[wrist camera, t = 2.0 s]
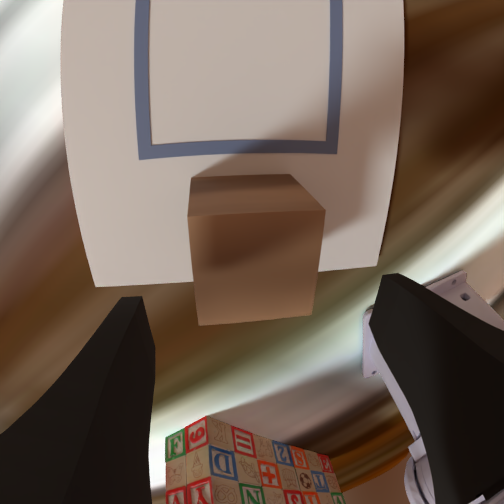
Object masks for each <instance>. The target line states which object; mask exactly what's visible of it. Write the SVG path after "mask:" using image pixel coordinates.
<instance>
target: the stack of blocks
mask: <svg viewBox="0 0 504 504" xmlns="http://www.w3.org/2000/svg"><path fill="white" fill-rule="evenodd" d="M165 462H166V504H346V503H345V500H344V497H343V495H342V493H341V491H340V488H339V485H338V482H337V479H336V476H335V474H334V472H333V469H332V465H331V462H330V460H329V457H328V456H327V455H323V454H318V453H316V452H313V451H309V450H305V449H304V450H303V449H301V448H298V447H295V446H291V445H287V444H283V443H280V442H277V441H273V440H270V439H267V438H264V437H260V436H258V435H255V434H252V433H250V432H247V431H244V430H242V429H239V428H236V427H234V426H231V425H229V424H226V423H224V422H221V421H219V420H216V419H214V418H211V417H209V416H205V417H203V418H201V419H199V420H198V421H196V422H194V423H192V424H190V425H188V426H186V427H185V428H183V429H181V430H180V431H178V432H176V433H174V434H172V435H170V436H168V437H166V439H165Z"/></svg>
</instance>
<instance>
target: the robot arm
mask: <svg viewBox="0 0 504 504" xmlns="http://www.w3.org/2000/svg"><path fill="white" fill-rule="evenodd" d="M466 277H467V273H466V272H465V271H463V270H462V271H459V272H457V273H455V274H453V275H451V276H449V277H446V278H444V279H442V280H440V281H438V282H435V283H433V284H431V285H429V286H426V287H424V286H422V285H420V284H419V283H417V282H415V281H413V280H411V279H409V278H407V277H405V276H403V275H401V274H399V273H395V274H387V275H382V279H381V283H380V286H379V290H378V294H377V297H376V300H375V304H374V307H373V309H370V310H368V311H366V312H365V313H364V315H363V363H362V375H363V377H364V378H369V377H371V376H374V375H376V374H379V373H380V375H381V377H382V379H383V381H384V382H385V384H386V386H387V388H388V390H389V392H390V394H391V395H392V397H393V399H394V401H395V403H396V405H397V407H398V409H399V410H400V412H401V414H402V416H403V418H404V420H405V422H406V424H407V426H408V428H409V430H410V432H411V434H412V436H413V438H414V440H415V442H414V443H413V444H411V445H410V446H409V447H408V448H409V450H410V452H411V454H412V457H411V458H410V459H409V460H408V462H407V465H406V471H405V476H404V482H405V489H406V492H407V496H408V498H409V501H410V503H411V504H504V320H503V319H502V318H501V317H500V316H499V315H498V314H497V313H496V312H495V311H494V310H493V309H492V308H491V307H490V306H489V305H488V304H487V303H486V302H485V301H484V300H483V299H482V298H481V297H480V296H479V295H478V294H477V293H476V292H475V291H474V290H473V289H472V288H471V287H470V286H469V285H468V284H467V283H466ZM154 384H155V345H154V341H153V337H152V334H151V330H150V326H149V322H148V318H147V315H146V311H145V306H144V302H143V298H142V296H137V297H121V299H120V300H119V301H118V302H117V304H116V305H115V306H114V307H113V309H112V310H111V311H110V313H109V314H108V315H107V317H106V318H105V319H104V321H103V322H102V324H101V325H100V326H99V328H98V329H97V330H96V332H95V333H94V334H93V335H92V337H91V338H90V339H89V341H88V342H87V343H86V345H85V346H84V347H83V349H82V350H81V351H80V353H79V354H78V355H77V356H76V357H75V359H74V360H73V361H72V362H71V364H70V365H69V366H68V367H67V368H66V370H65V371H64V372H63V373H62V375H61V376H60V377H59V378H58V379H57V380H56V382H55V383H54V384H53V385H52V386H51V387H50V388H49V389H48V390H47V391H46V392H45V393H44V394H43V396H42V397H41V398H40V399H39V400H38V401H37V402H36V403H35V404H34V405H33V406H32V407H31V408H30V409H28V410H27V411H26V412H25V413H24V414H23V415H22V416H21V417H20V418H19V419H18V420H16V421H15V422H14V423H13V424H12V425H11V426H10V427H9V428H8V429H7V430H5V431H4V432H3V433H2V434H0V504H152V499H151V489H150V476H149V459H148V452H149V434H150V423H151V412H152V403H153V393H154Z"/></svg>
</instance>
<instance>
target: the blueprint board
mask: <svg viewBox="0 0 504 504" xmlns="http://www.w3.org/2000/svg"><path fill="white" fill-rule="evenodd" d="M403 75H404V8H403V0H64V1H63V12H62V27H61V96H62V112H63V124H64V134H65V144H66V152H67V159H68V166H69V173H70V179H71V185H72V191H73V196H74V202H75V207H76V212H77V216H78V221H79V226H80V230H81V234H82V238H83V243H84V247H85V251H86V254H87V258H88V262H89V266H90V269H91V273H92V276H93V280H94V283H95V286H96V287H105V286H125V285H143V284H160V283H176V282H191V281H193V273H192V263H191V253H190V243H189V231H188V220H187V214H188V203H189V192H190V182H191V178H194V177H211V176H232V175H261V174H291V175H292V176H293V177H294V178H295V179H296V180H297V181H298V182H299V183H300V184H301V185H302V186H303V187H304V188H305V189H306V190H307V191H308V192H309V193H310V194H311V195H312V196H313V197H314V198H315V199H316V200H317V201H318V202H319V203H320V205H321V206H322V207H323V208H324V209H325V210H326V213H325V222H324V231H323V239H322V246H321V254H320V261H319V268H318V271H329V270H339V269H350V268H360V267H370V266H376V265H377V261H378V256H379V252H380V247H381V243H382V238H383V233H384V228H385V223H386V218H387V213H388V208H389V202H390V196H391V190H392V184H393V178H394V171H395V164H396V156H397V148H398V140H399V130H400V120H401V108H402V94H403Z"/></svg>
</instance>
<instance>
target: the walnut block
mask: <svg viewBox="0 0 504 504" xmlns="http://www.w3.org/2000/svg"><path fill="white" fill-rule="evenodd" d="M325 213H326V210H325V209H324V208H323V207H322V206H321V205H320V203H319V202H318V201H317V200H316V199H315V198H314V197H313V196H312V195H311V194H310V193H309V192H308V191H307V190H306V189H305V188H304V187H303V186H302V185H301V184H300V183H299V182H298V181H297V180H296V179H295V178H294V177H293V176H292V175H291V174H261V175H232V176H211V177H194V178H191V182H190V192H189V203H188V214H187V220H188V231H189V243H190V253H191V263H192V273H193V282H194V291H195V299H196V307H197V315H198V323H199V326H200V325H214V324H227V323H239V322H249V321H260V320H270V319H279V318H288V317H296V316H305V315H311V314H312V308H313V302H314V295H315V289H316V282H317V275H318V268H319V261H320V254H321V246H322V239H323V231H324V222H325Z"/></svg>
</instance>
